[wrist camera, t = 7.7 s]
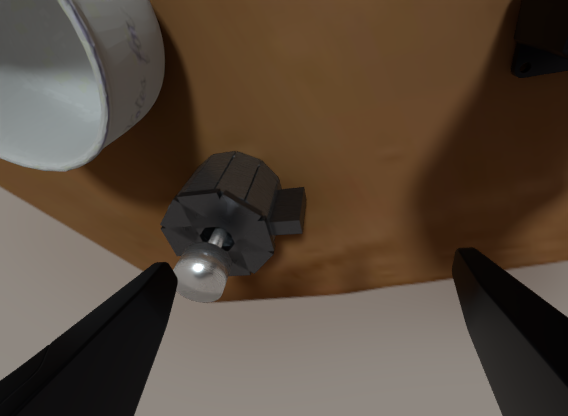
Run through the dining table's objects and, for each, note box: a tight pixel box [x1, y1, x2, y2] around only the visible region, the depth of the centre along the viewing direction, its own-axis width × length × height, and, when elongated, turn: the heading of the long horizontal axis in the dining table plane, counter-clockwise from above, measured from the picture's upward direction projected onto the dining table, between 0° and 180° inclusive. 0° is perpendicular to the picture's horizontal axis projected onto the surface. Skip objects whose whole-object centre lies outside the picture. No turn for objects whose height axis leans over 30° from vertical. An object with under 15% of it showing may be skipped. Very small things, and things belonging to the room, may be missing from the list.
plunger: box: [173, 227, 232, 303], centre depth 19 cm, size 5×5×8 cm
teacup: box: [0, 0, 165, 171], centre depth 13 cm, size 14×11×8 cm
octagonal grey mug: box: [160, 151, 306, 276], centre depth 21 cm, size 9×7×6 cm
